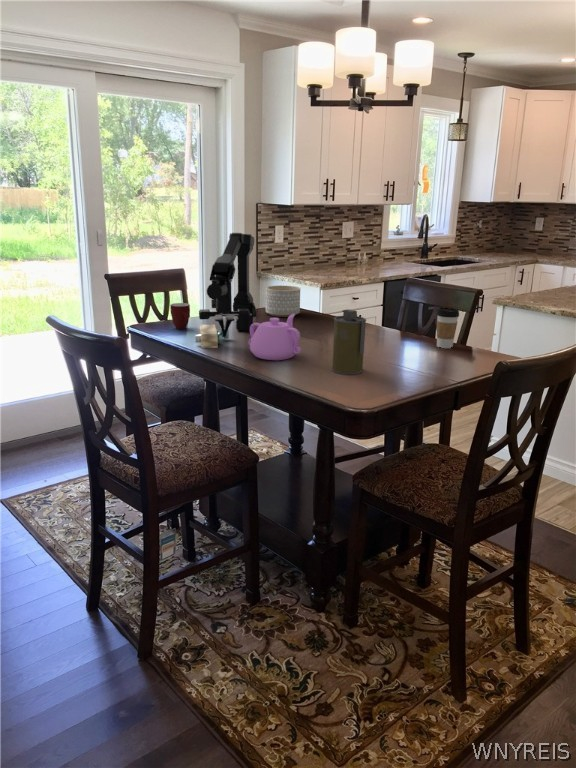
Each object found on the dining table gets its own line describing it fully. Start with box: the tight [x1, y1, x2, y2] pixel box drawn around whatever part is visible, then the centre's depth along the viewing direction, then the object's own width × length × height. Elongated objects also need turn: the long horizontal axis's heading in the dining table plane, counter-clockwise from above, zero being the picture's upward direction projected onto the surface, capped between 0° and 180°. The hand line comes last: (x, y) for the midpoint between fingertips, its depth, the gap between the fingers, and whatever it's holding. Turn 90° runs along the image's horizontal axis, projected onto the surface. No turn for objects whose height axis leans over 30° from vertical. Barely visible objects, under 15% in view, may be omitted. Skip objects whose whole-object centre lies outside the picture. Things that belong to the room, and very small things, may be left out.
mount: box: [198, 324, 219, 349], centre depth 231 cm, size 6×17×5 cm, turn 10°
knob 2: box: [216, 327, 230, 340], centre depth 236 cm, size 8×4×4 cm, turn 100°
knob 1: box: [194, 333, 223, 345], centre depth 228 cm, size 10×4×4 cm, turn 100°
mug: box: [169, 302, 191, 330], centre depth 253 cm, size 11×8×10 cm
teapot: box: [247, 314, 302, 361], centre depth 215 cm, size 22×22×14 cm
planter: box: [265, 284, 301, 318], centre depth 288 cm, size 16×16×13 cm
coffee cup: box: [436, 306, 460, 349], centre depth 232 cm, size 8×8×15 cm
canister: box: [331, 308, 367, 376], centre depth 197 cm, size 11×10×20 cm
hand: (224, 336), depth 229 cm, fingers closed
